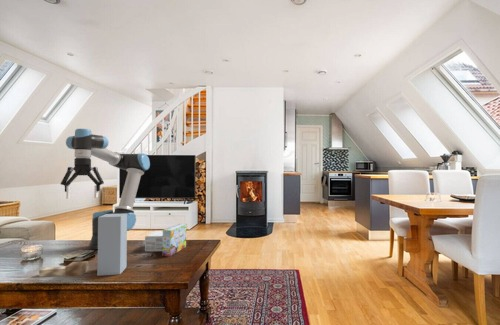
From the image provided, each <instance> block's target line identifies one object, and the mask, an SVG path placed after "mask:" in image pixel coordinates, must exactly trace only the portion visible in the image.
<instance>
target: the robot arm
mask: <svg viewBox="0 0 500 325" xmlns="http://www.w3.org/2000/svg"><path fill="white" fill-rule="evenodd" d="M65 146H66V147H67V148H68V149H71V150H74V159H73V160H74V164H73V165H74V167H73V166H69V167H67V169H66V170H67V171H66V173H65V174H64V176H63V178H62V179H61V182H60V185H61V186H64V192H65V193H66V198H65V199H71V197H72V196H71V192H72V191H71V189H72V185H71V184H72V183H73V181H75V180H76V179H77V177H78V176H87V177H88V178H89V179H90V180H91V181H92V182H93V183H94V184H95V185H94V196H93V197H94V199H96V198H97V199H98V198H99V192H101V185H104V183H105V182H104V180H103V178H102V176H101V174H100V172H99V170H98V167H97V166H93V167H92V159H91V158H92V156H93V157H95V158H97V159H99V160H101V161H105V162H106V163H108V164H109V166H112V167H114V168H116V169H121V170H124V171H126V172H127V174H126V178H125V182H124V185H123V188H122V193H121V196H120V199H119V203H118V206H117V207H115V208H114V210H113V209H107V210H106V209H105V210H100V211H95V212H93V214H92V221H91V222H92V226H91V228H92V230H91V231H92V235H91V238H90V240H89V243H88V244H89V245H88V249H89V248H90V249H89V250H91V249H98V217H100V216H102V215H105V214H124V213H127V232H129V231H131V230H132V229H133V228H134V226H136V222H137V216H136V214H135V211H134V209H133V208H134V204H135V200H136V197H137V192H138V189H139V185H140V180H141V177H142V176H143V175H145V172H146V171H148V170H149V169H150V166H151V162H150V158H149V156H148V154H145V153H140V152H138V153H119V152H117V151H112V150H110V149H107V147H108V146H109V139H108V138H107V137H106V136H103V135H98V134H93V133H92V130H91V129H88V128H76V129H75V130H74V135H71V136H68V137H67V138H66V140H65ZM91 171H92V172H93V174H94V175H95V176H94V175H93V174H92V172H91ZM73 172H74V173H73ZM71 174H72V175H71ZM70 176H71V177H70Z"/></svg>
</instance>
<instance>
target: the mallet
mask: <svg viewBox="0 0 500 325" xmlns="http://www.w3.org/2000/svg"><path fill="white" fill-rule="evenodd" d="M88 271H89V260H85V261H84V260H83V261H72V262H71V263H69V264H67V265H66V266H53V267H51V266H50V267H42V268H40V269H39V270H38V273H39V274H38V276H39V277H55V276H57V277H59V276H64V277H81V276H83V275H85V274H86V272H88Z"/></svg>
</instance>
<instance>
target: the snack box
mask: <svg viewBox="0 0 500 325" xmlns="http://www.w3.org/2000/svg"><path fill="white" fill-rule="evenodd" d="M162 231H163V241H162V251H161V253H162V254H161V256H162V257H168V258H169V257H172V256H174V255H175V254H176V253H178V252H180V251H181V250H183V249H185V248H186V247H187V223H177V224H175V225H172V226H170V227H169V226H168V228H165V229H162Z"/></svg>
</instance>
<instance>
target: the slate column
mask: <svg viewBox="0 0 500 325" xmlns="http://www.w3.org/2000/svg"><path fill="white" fill-rule="evenodd" d="M127 236H128V231H127V213H124V214H105V215H102V216H100V217H98V250H97V267H96V268H97V270H96V271H97V272H96V273H97V274H96V276H99V277H100V276H114V275H121V274H122V273H123V271H124V270H125V269H126V268H127V261H128V260H127V255H128V253H127V252H128V251H127V250H128V248H127V247H128V246H127V244H128V237H127Z"/></svg>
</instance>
